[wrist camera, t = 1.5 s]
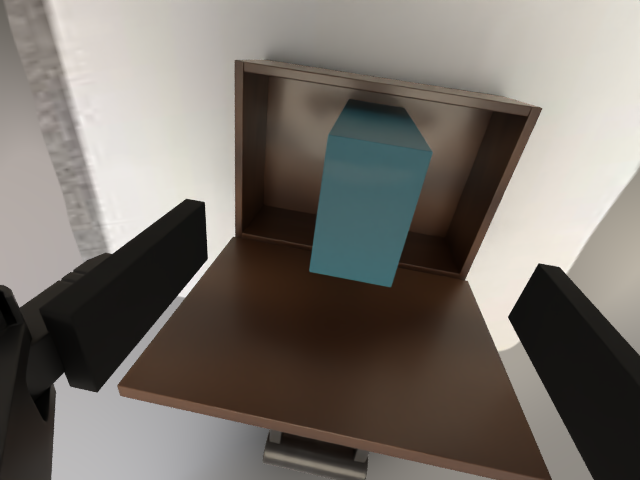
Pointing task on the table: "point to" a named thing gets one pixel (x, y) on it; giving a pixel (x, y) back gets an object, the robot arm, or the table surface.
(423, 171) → the block
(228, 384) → the lid
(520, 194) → the table surface
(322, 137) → the chest
